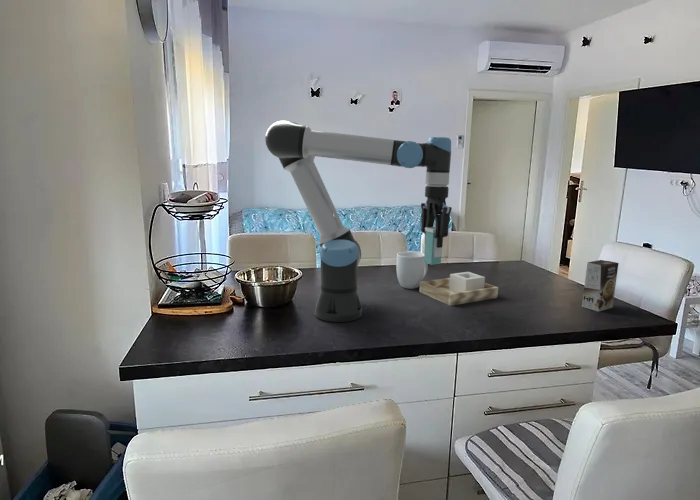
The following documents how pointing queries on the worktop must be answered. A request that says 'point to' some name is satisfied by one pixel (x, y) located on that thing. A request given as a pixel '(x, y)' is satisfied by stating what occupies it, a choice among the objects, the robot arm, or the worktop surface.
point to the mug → (410, 269)
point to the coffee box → (600, 285)
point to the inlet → (466, 282)
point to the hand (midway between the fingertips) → (432, 255)
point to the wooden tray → (444, 294)
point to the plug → (430, 247)
